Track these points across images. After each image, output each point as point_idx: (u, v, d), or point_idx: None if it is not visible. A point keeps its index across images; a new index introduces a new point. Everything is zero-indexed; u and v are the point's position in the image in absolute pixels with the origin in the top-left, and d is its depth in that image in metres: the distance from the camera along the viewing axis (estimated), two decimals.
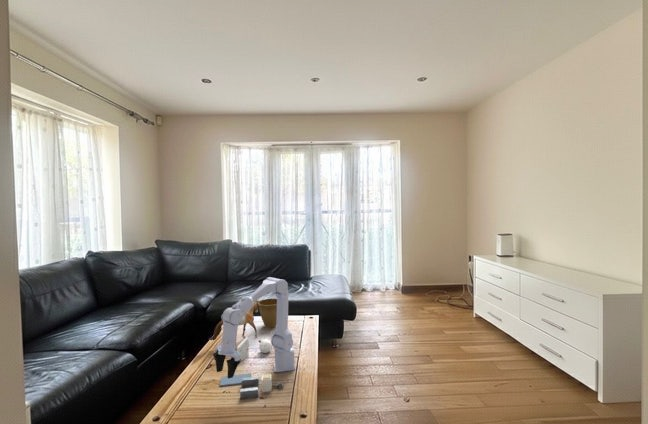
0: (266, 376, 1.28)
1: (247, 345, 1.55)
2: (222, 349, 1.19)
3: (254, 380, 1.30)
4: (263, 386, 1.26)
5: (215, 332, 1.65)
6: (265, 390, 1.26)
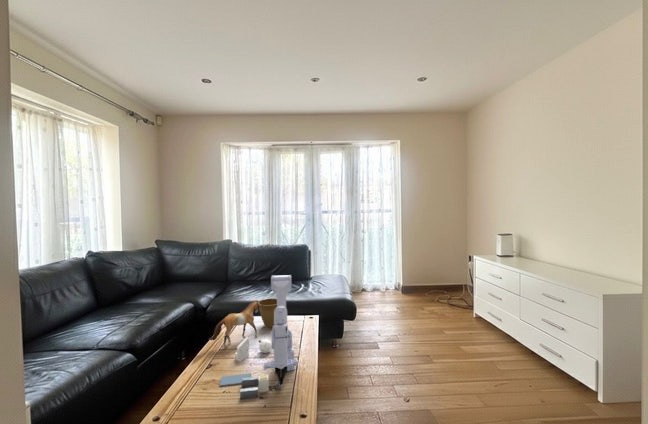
0: (263, 376, 1.28)
1: (247, 345, 1.55)
2: (281, 363, 1.26)
3: (254, 380, 1.30)
4: (260, 386, 1.25)
5: (215, 332, 1.65)
6: (262, 390, 1.26)
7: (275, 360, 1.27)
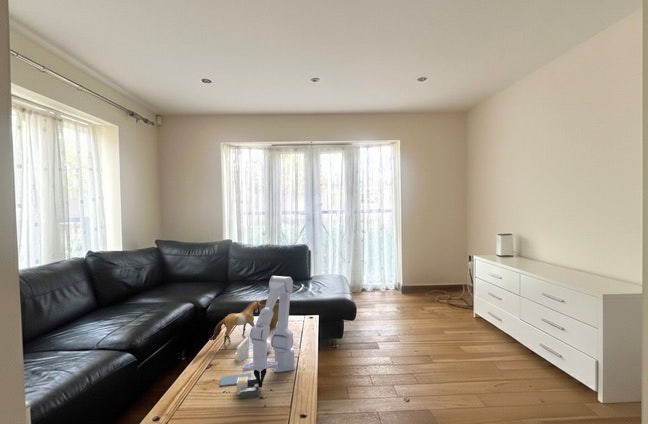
0: (242, 378, 1.26)
1: (247, 345, 1.55)
2: (260, 365, 1.25)
3: (254, 380, 1.30)
4: (238, 388, 1.24)
5: (215, 332, 1.65)
6: None
7: (254, 362, 1.25)
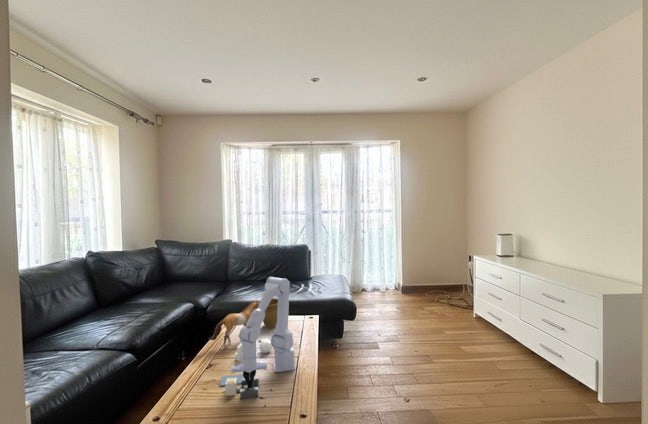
0: (231, 379, 1.25)
1: None
2: (249, 366, 1.24)
3: (254, 380, 1.30)
4: (227, 389, 1.23)
5: (215, 332, 1.65)
6: (229, 394, 1.23)
7: (243, 363, 1.24)
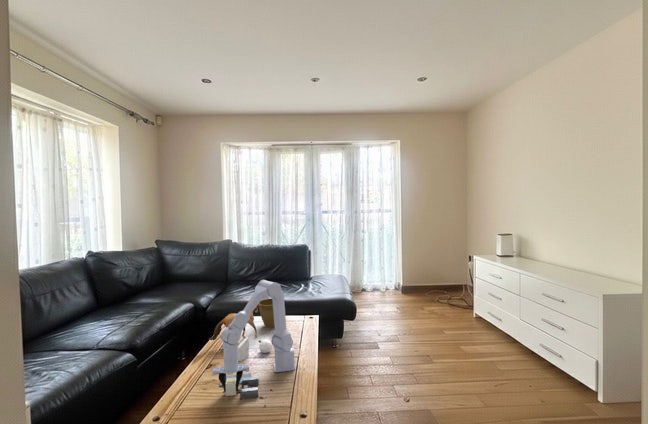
0: (231, 379, 1.25)
1: (247, 345, 1.55)
2: (231, 368, 1.22)
3: (254, 380, 1.30)
4: (227, 389, 1.23)
5: (215, 332, 1.65)
6: (229, 394, 1.23)
7: (224, 365, 1.23)
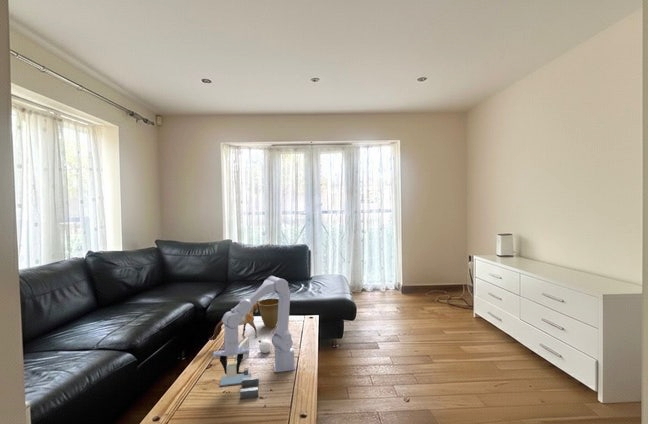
0: (232, 362, 1.29)
1: (247, 345, 1.55)
2: (231, 351, 1.26)
3: (254, 380, 1.30)
4: (227, 371, 1.27)
5: (215, 332, 1.65)
6: (230, 376, 1.27)
7: (225, 348, 1.26)
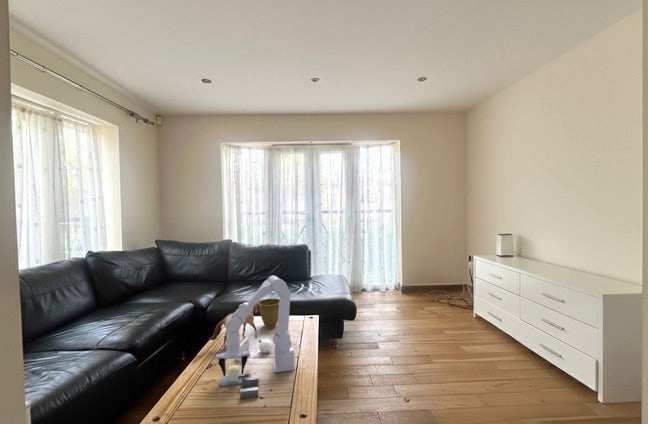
0: (233, 366, 1.35)
1: (247, 345, 1.55)
2: (233, 354, 1.32)
3: (254, 380, 1.30)
4: (229, 375, 1.33)
5: (215, 332, 1.65)
6: (231, 380, 1.33)
7: (227, 351, 1.32)
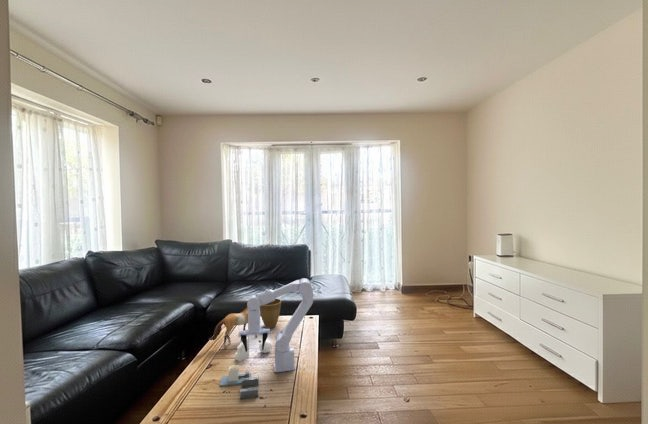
0: (233, 366, 1.35)
1: (247, 345, 1.55)
2: (254, 330, 1.41)
3: (254, 380, 1.30)
4: (229, 375, 1.33)
5: (215, 332, 1.65)
6: (231, 380, 1.33)
7: (249, 328, 1.41)
